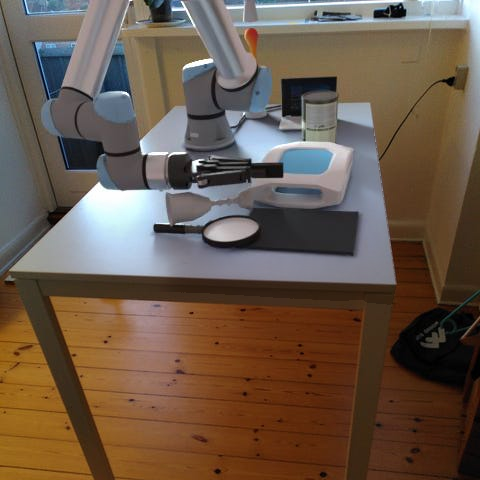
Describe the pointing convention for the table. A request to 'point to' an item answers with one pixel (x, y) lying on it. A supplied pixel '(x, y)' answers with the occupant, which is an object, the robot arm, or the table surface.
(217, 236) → the magnifying glass
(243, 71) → the robot arm
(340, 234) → the mat
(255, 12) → the lava lamp
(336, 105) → the coffee can
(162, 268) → the table surface
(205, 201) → the chalice
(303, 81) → the laptop
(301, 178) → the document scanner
